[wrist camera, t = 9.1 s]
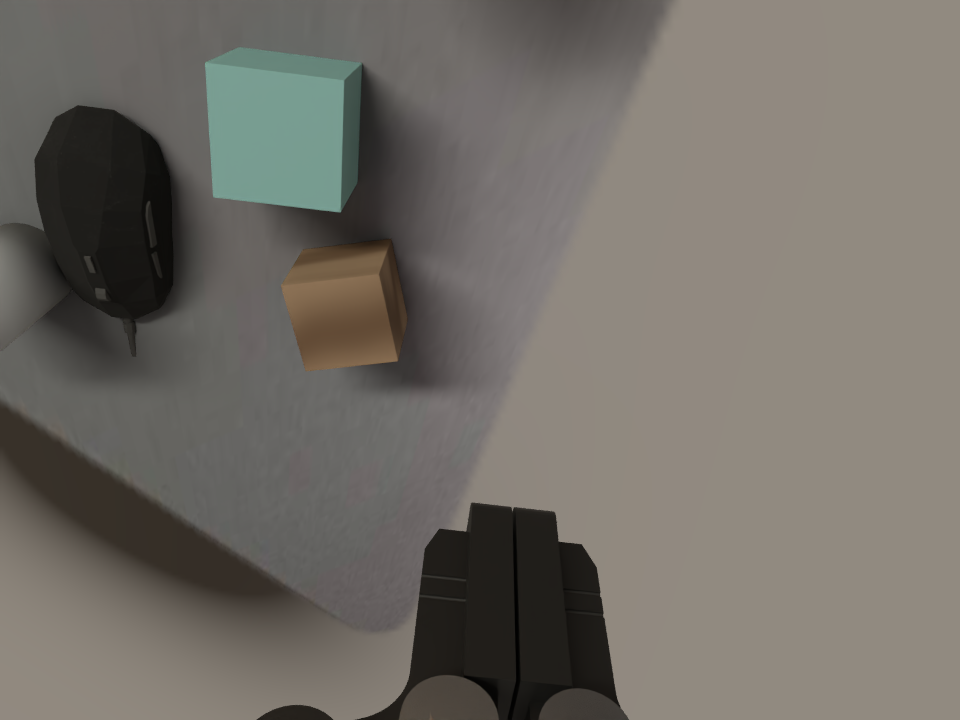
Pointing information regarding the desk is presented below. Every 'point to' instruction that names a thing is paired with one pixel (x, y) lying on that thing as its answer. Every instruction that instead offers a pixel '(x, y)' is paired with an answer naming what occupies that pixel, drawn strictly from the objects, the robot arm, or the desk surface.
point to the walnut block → (346, 305)
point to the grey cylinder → (26, 279)
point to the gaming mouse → (107, 212)
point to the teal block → (284, 128)
